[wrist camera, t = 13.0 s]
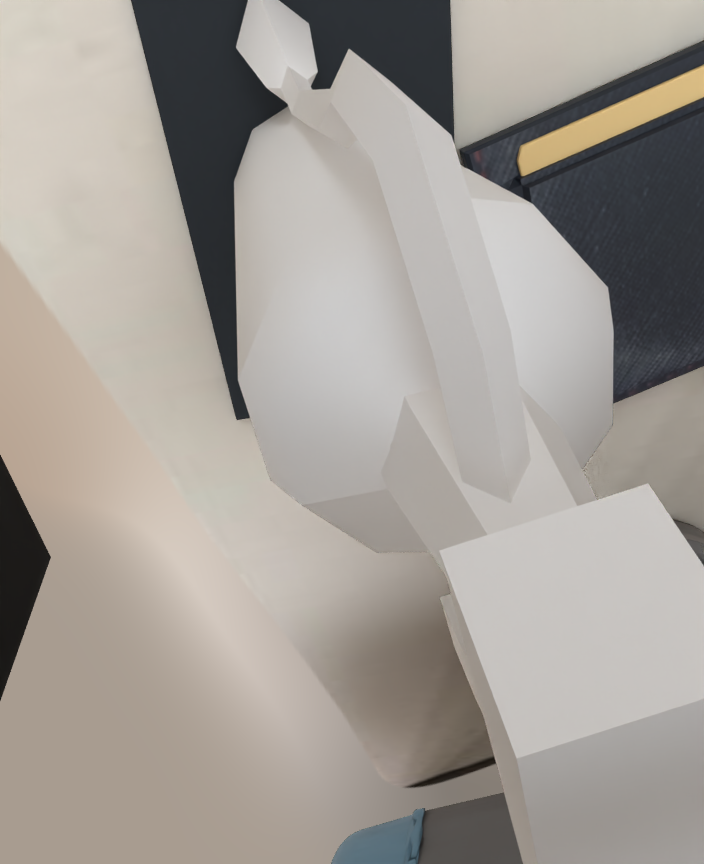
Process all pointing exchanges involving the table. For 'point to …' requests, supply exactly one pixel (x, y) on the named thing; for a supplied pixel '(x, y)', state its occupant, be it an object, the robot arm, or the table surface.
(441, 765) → the table surface
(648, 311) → the wallet
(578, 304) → the fire extinguisher
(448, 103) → the mat
